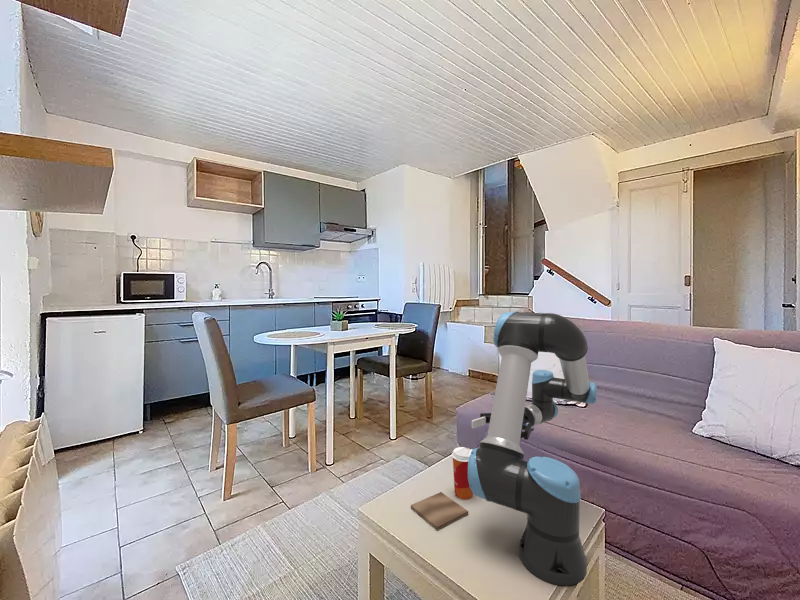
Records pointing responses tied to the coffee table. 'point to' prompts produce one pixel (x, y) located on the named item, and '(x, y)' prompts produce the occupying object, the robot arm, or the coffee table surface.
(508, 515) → the coffee table surface
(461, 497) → the paper cup
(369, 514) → the coffee table surface
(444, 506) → the walnut pad
